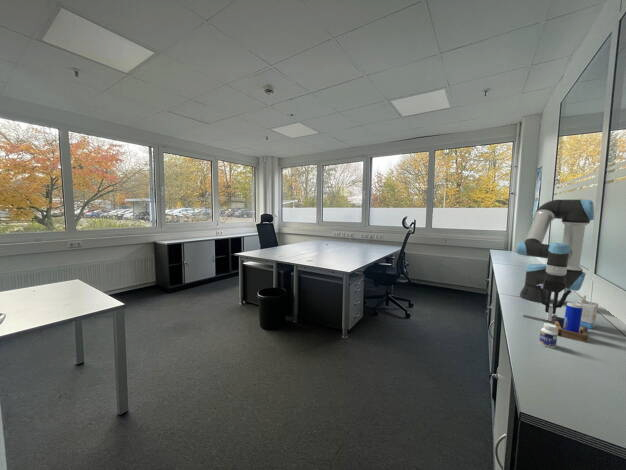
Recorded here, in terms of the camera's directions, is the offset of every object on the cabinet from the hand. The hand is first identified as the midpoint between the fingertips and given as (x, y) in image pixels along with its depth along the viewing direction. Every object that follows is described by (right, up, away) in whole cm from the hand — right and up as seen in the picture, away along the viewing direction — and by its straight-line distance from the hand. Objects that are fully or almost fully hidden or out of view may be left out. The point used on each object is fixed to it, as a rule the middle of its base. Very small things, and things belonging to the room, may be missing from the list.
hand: (549, 319), depth 130 cm
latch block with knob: (+4, -3, -3) cm, 6 cm away
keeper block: (-3, -3, -6) cm, 7 cm away
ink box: (+18, -3, -1) cm, 18 cm away
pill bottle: (-21, -4, -21) cm, 30 cm away
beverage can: (-1, -4, -12) cm, 12 cm away
